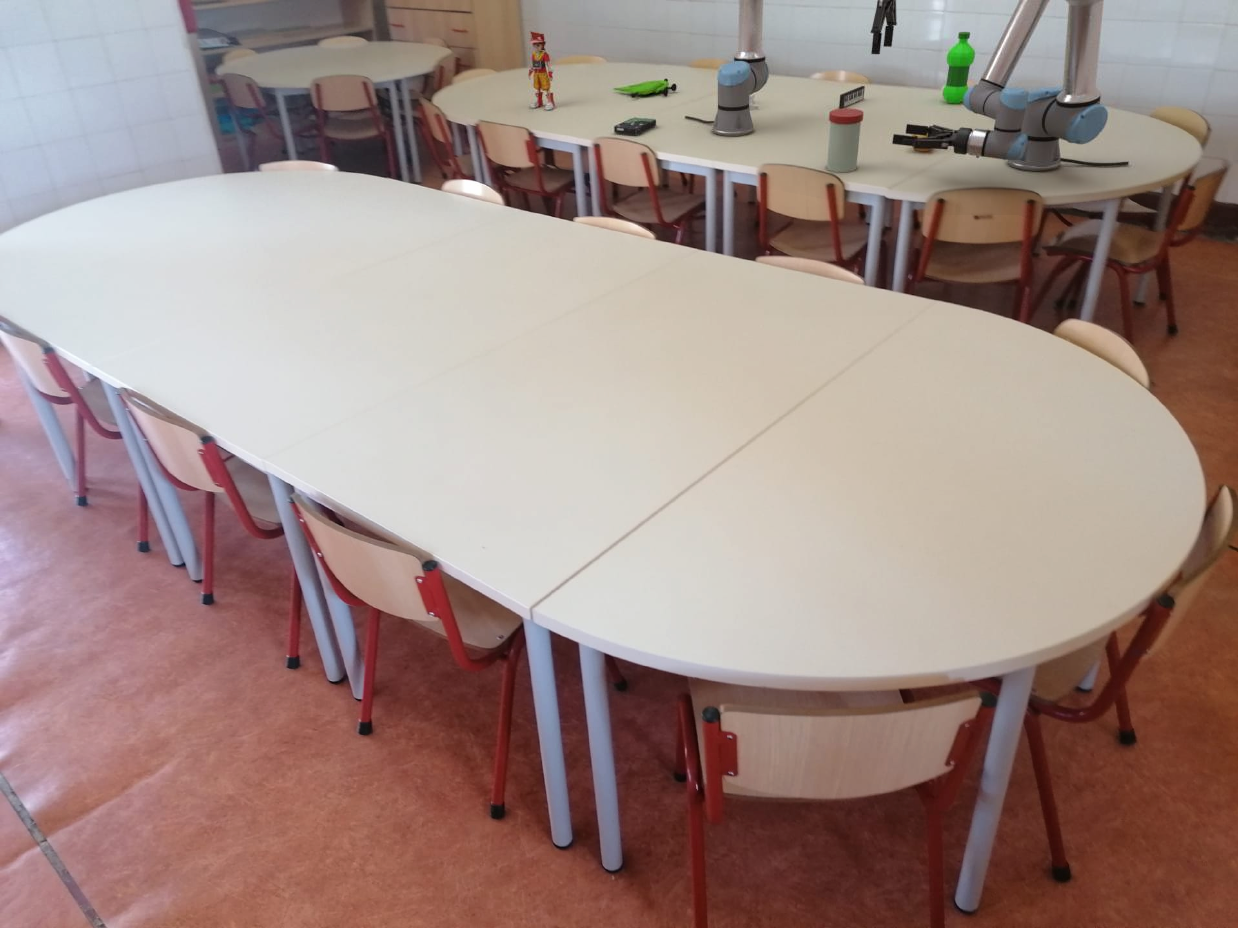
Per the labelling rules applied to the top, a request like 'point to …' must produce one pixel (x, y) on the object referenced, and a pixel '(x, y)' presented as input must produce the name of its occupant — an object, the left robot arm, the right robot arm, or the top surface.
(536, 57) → the toy
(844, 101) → the midi keyboard
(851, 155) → the jar
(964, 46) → the plastic bottle
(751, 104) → the anatomical model
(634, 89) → the toy
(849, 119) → the lid
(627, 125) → the disk drive
